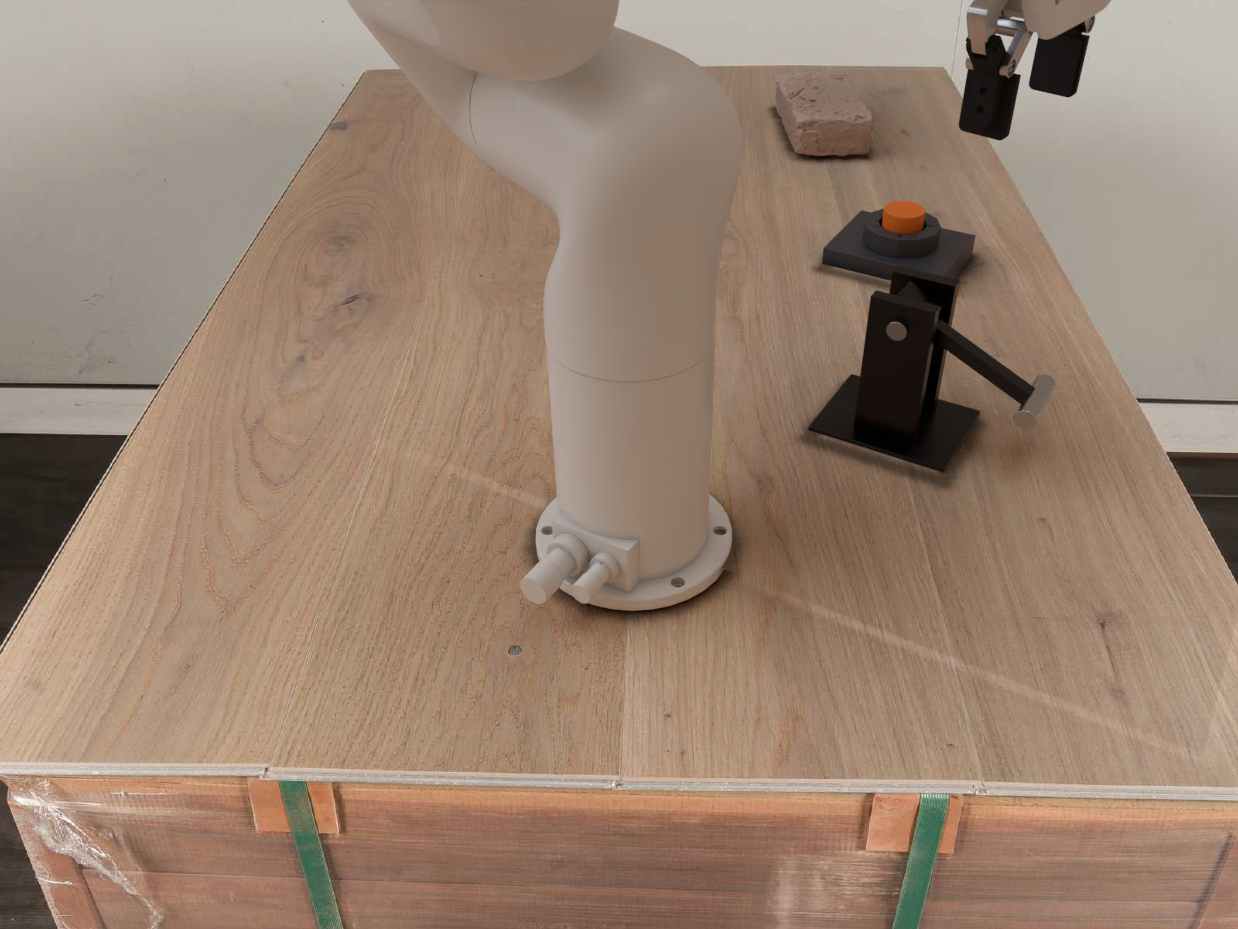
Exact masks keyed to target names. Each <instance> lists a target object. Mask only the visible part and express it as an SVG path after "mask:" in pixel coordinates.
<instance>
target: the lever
mask: <svg viewBox="0 0 1238 929" xmlns="http://www.w3.org/2000/svg"><path fill="white" fill-rule="evenodd" d="M898 296H901V297H905V298H909V299H913V300H917V301H921V302H925V303H929V304H933V305H937V306H940V310H941V308H942V307H943V304H942V303H941V302H939V301H938V300H936V299H935V298H934V297H932V296H931V295H930V294H928V293H927V292H925V291H924V290H923V289H921V288H920V287H918V286H917V285H916V284H914V283H913V282H912V281H909V282H908V283H907V285H906V286H905V287H904V288H903V289H902V291H901V292H900V293H899V294H898ZM934 341H935V342H936V343H937V344H939V345H940V346H942V347H943V348H944V349H946V350H947V353H949V354H951V355H953V356H954V357H955V358H957V359H958V360H960V362H962V363H963V364H965V365H966V366H967V367H969V368H970V369H972V370H973V371H974V372H976V373H977V374H978V375H979V376H981V377H982V378H984V379H985V380H986V381H988V382H990V383H991V384H992V385H994V387H996V388H998V389H999V390H1000V391H1002V392H1003V393H1005V394H1006V395H1007V396H1009V397H1010V398H1011V399H1013V400H1014V401H1015V402H1017V403H1018V404H1019V406H1018V408H1017V409H1016V411H1015V412H1014V415H1013V422H1014V424H1015V425H1016V427H1017V428H1019V429H1022V430H1030V429H1033V428H1034V427H1035V426H1036V424H1037V423H1038V421H1039V419H1040V417H1041V416H1042V414H1043V411H1044V410H1045V408H1046V406H1047V404H1048V403H1049V401H1050V398H1051V397H1052V395H1053V394H1054V391H1055V390H1056V387H1057V382H1056V380H1055V379H1054V377H1053V376H1051V375H1049V374H1045V373H1044V374H1039V375H1037V376H1036V377H1035V378H1034V380H1033V382H1032V383H1029V382H1027V380H1025V379H1023V378H1022V377H1021V376H1019V375H1018V374H1017V373H1015V372H1014V371H1012V370H1011V369H1010V368H1009V367H1007V366H1006V365H1004V364H1003V363H1001V361H999V360H997V359H996V358H995V357H993V356H992V355H991V354H989V353H988V352H986V351H985V350H984V349H982V348H981V347H980V346H978V344H976V343H974V342H973V341H971V340H970V339H969V338H967V337H966V336H964V335H963V334H962V333H960V332H959V331H958V330H956V329H955V328H953V327H950V326H949V325H948V324H946V323H945V322H944V321H942V320H941V319H939V318H938V323H937V328H936V334H935V340H934Z"/></svg>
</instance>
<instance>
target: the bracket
mask: <svg viewBox="0 0 1238 929" xmlns="http://www.w3.org/2000/svg"><path fill="white" fill-rule="evenodd" d="M909 281H912V282H913V283H914V284H916V285H917V286H918V287H920V288H921V289H923V290H924V291H925V292H927V293H928V294H930V295H931V296H932V297H934V298H935V299H936V300H938V301H939V302H941V303H942V304H943V307H942V308H941V310H940V306H937V305H933V304H929V303H925V302H921V301H917V300H913V299H909V298H905V297H901V296H898V294H899V293H900V292H901V291H902V289H903V288H904V287H905V286H906V285H907V283H908V282H909ZM960 284H961V280H960V279H956V278H955V279H953V278H948V277H944V276H940V275H936V274H932V273H927V272H923V271H919V270H915V269H911V268H906V267H902V266H897V267H896V268H895V269H894V270H893V271H892V278H891V281H890V286H889V292H885V291H881V290H877V289H876V290H874V292H873V293H872V294H871V295H870V298H869V306H868V307H869V308H868V313H867V322H866V328H865V329H866V330H865V338H864V344H863V350H862V359H861V367H860V374H859V375H858V374H854V373H851V374H850V375H849V376H848V377H847V379H846V380H845V381H844V382H843V384H842V385H841V386H840V387H839V388H838V390H837V391H836V392H835V394H833V396H832V397H831V398H830V400H829V401H828V402H827V403H826V404H825V406H824V407H823V408H822V409H821V411H820V412H819V413H818V414H817V416H815V418H814V419H813V420H812V422H811V423H810V424H809V425H808V428H807V431H810V432H814V433H816V434H818V435H819V434H820V435H823V436H826V437H828V438H832V439H834V440H835V439H836V440H838V441H842V442H844V443H849V444H851V445H855V446H858V447H860V448H864V449H866V450H870V451H873V452H876V453H880V454H883V455H886V456H889V457H892V458H895V459H898V460H901V461H904V462H908V463H911V464H915V465H918V466H921V467H924V468H926V469H931V470H934V471H936V472H940V473H945V472H946V470H947V469H948V467H949V466H950V463H951V462H952V460H953V459H954V458H955V456H956V454H957V452H958V451H959V450H960V448H961V446H962V444H963V443H964V441H965V439H966V438H967V437H968V435H969V433H970V431H971V430H972V428H973V426H974V425H975V423H976V421H977V420H978V418H979V417H980V414H981V410H978V409H975V408H971V407H969V406H964V405H961V404H958V403H955V402H951V401H947V400H944V399H940V398H939V396H940V390H941V386H942V380H943V375H944V370H945V364H946V358H947V354H948V351H947V350H946V349H944V348H943V347H942V346H940V345H939V344H937V343H936V342H935V341H934V340H935V334H936V328H937V323H938V318H939V319H941V320H942V321H944V322H945V323H946V324H948V325H949V326H950V327H952V326H953V321H954V315H955V311H956V304H957V299H958V293H959V288H960ZM952 328H953V327H952Z"/></svg>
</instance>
